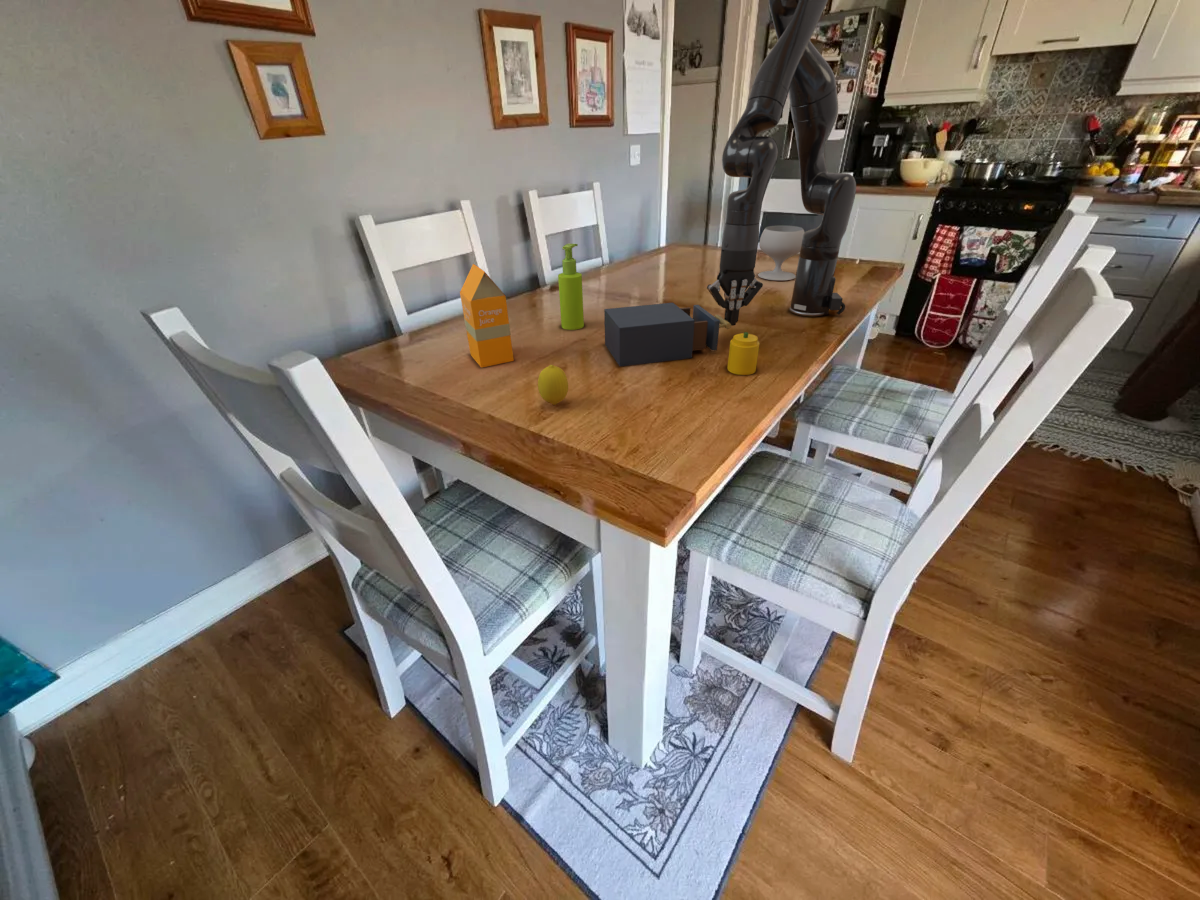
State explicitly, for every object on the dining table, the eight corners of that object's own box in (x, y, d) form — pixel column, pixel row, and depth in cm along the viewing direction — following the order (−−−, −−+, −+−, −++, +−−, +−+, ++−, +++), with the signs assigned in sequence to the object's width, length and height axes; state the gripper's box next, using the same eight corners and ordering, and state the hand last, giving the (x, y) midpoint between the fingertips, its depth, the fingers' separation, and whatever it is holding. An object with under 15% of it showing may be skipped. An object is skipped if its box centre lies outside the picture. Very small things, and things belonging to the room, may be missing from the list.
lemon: (540, 399, 98) (536, 360, 94) (568, 397, 99) (566, 358, 94) (539, 412, 94) (535, 372, 89) (569, 410, 94) (567, 370, 90)
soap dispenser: (588, 322, 136) (585, 242, 125) (579, 330, 131) (575, 248, 120) (568, 320, 138) (563, 241, 127) (558, 328, 132) (552, 247, 122)
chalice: (756, 281, 166) (763, 232, 158) (753, 271, 178) (759, 224, 170) (801, 282, 164) (811, 232, 156) (795, 272, 175) (803, 224, 167)
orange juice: (480, 367, 112) (465, 273, 101) (469, 354, 119) (454, 265, 108) (514, 360, 115) (503, 268, 104) (502, 348, 122) (490, 260, 111)
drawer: (712, 330, 126) (715, 302, 122) (734, 348, 115) (738, 318, 112) (634, 338, 122) (635, 310, 118) (650, 357, 112) (651, 327, 108)
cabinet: (671, 337, 125) (672, 302, 120) (691, 358, 114) (694, 320, 109) (604, 344, 122) (604, 308, 117) (619, 366, 111) (619, 327, 106)
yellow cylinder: (753, 364, 110) (758, 328, 105) (757, 375, 105) (763, 337, 101) (726, 363, 110) (730, 327, 106) (728, 374, 106) (732, 337, 101)
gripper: (759, 240, 114) (749, 317, 123) (703, 244, 111) (697, 322, 121) (776, 246, 108) (764, 327, 117) (718, 251, 105) (710, 332, 114)
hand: (730, 324), depth 119 cm, fingers closed
